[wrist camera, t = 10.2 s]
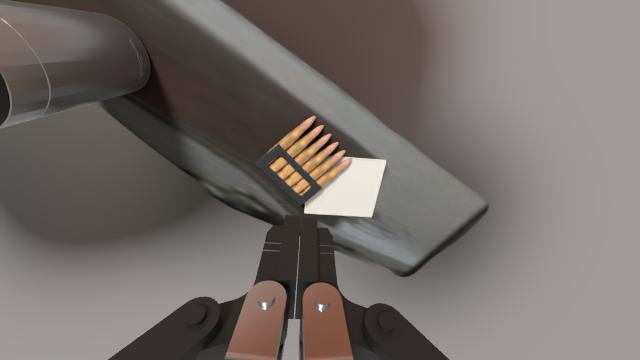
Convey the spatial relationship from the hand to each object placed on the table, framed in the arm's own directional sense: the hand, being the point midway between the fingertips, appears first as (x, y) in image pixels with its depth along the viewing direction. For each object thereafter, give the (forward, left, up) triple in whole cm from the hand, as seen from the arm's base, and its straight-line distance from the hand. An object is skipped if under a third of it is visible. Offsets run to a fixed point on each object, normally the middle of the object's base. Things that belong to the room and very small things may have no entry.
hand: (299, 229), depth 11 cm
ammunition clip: (-4, -13, -26) cm, 29 cm away
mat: (+7, -14, -27) cm, 31 cm away
